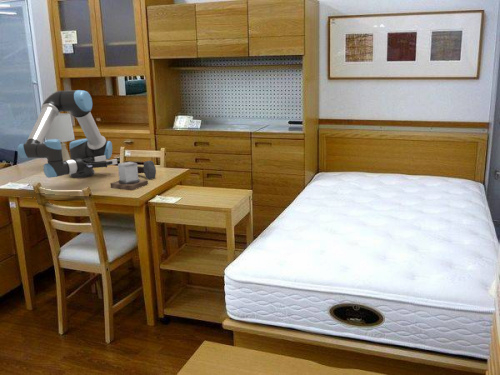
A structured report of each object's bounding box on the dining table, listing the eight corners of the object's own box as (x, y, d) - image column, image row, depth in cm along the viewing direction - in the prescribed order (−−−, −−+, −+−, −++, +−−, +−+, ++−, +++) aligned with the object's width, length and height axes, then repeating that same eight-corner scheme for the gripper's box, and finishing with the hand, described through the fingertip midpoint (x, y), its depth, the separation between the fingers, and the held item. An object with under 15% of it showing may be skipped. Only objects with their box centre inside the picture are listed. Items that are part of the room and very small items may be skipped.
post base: (132, 190, 280) (130, 174, 278) (110, 187, 287) (109, 172, 285) (148, 184, 292) (146, 169, 290) (127, 182, 299) (125, 167, 297)
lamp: (74, 170, 336) (67, 115, 326) (45, 171, 334) (38, 116, 325) (80, 164, 354) (74, 112, 344) (54, 165, 352) (47, 113, 343)
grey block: (126, 182, 283) (124, 165, 281) (119, 180, 289) (117, 163, 286) (138, 180, 288) (137, 163, 286) (131, 177, 294) (130, 161, 292)
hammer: (123, 179, 323) (150, 179, 303) (120, 162, 321) (147, 161, 301) (129, 177, 327) (157, 178, 306) (126, 160, 325) (154, 160, 304)
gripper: (65, 169, 274) (101, 162, 288) (85, 176, 257) (122, 169, 270) (64, 156, 272) (100, 150, 286) (83, 162, 255) (121, 156, 268)
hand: (111, 159), depth 278 cm, fingers open, 13 cm apart
